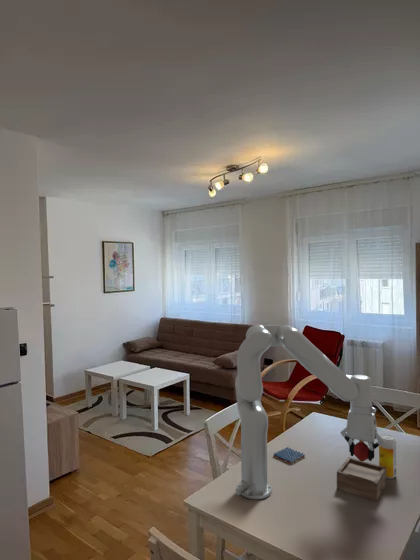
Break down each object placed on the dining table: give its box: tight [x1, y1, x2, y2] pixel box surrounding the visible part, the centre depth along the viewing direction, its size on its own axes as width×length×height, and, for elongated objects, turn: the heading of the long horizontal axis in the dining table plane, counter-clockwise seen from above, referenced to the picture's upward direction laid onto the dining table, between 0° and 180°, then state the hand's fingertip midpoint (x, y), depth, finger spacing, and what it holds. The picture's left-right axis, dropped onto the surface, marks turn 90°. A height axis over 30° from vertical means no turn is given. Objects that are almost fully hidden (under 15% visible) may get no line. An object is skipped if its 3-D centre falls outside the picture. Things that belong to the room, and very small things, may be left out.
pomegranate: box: [353, 440, 370, 462], centre depth 142 cm, size 6×6×8 cm
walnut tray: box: [336, 457, 387, 502], centre depth 142 cm, size 14×14×6 cm
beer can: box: [378, 434, 397, 480], centre depth 150 cm, size 6×6×15 cm
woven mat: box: [272, 446, 306, 466], centre depth 165 cm, size 10×11×2 cm
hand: (361, 456), depth 142 cm, fingers closed on pomegranate, 5 cm apart
